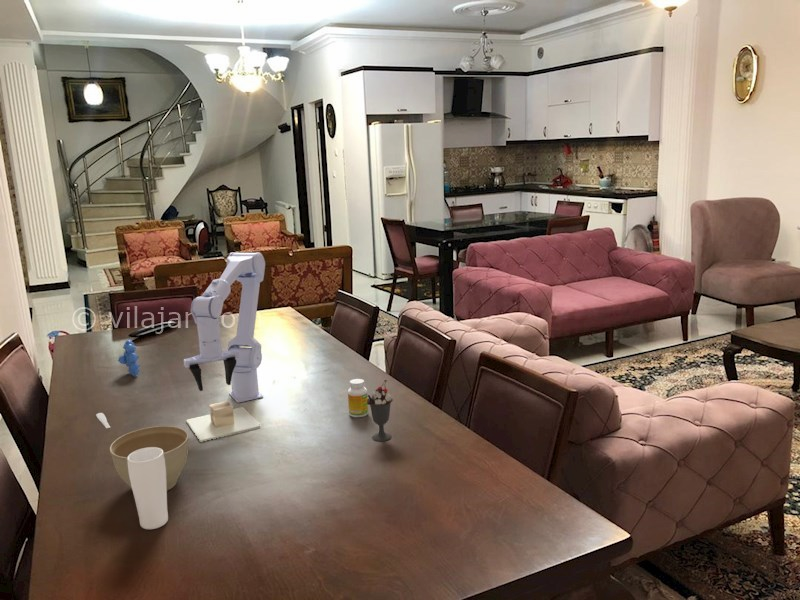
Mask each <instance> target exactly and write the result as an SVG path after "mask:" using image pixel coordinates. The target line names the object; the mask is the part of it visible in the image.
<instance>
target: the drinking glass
mask: <svg viewBox="0 0 800 600" xmlns="http://www.w3.org/2000/svg"><path fill="white" fill-rule="evenodd" d="M127 462H128V472H129V478H130V482H131V486H132V488H131V491H132V490H133V491H132V493H133V497H134V501H135V506H136V510H137V515H138V519H139V520H138V521H139V525H140V527H141V528H142V529H144V530H155V529H159V528H161V527H163V526H165V525H166V524H167V522H169V521H168V520H169V513H168V491H167V484H166V465H165V458H164V453H163V450H162V449H160V448H157V447H148V448H142V449H139V450H136V451H134V452H132V453H131V454H130V455H129V456H128V457H127Z"/></svg>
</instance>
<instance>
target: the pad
mask: <svg viewBox="0 0 800 600" xmlns="http://www.w3.org/2000/svg"><path fill="white" fill-rule="evenodd" d="M233 415H234V424H231V425H227V426H222V427H218V428H216V427H215V426H214V425H213V424H212V422H211V416H210V413H209V414H205V415H201V416H198V417H192V418H188V419H186V420H185V421H186V424H187V425H188V427H189V428H190V429H191V431H192V432H193V433H195V434H194V435H195V437H196V436H197V437H196V438H197V440H198V439H199V440H198V441H199V443H200V442H201V443H204V442H203V441H205V442H208V441H207V440H209V441H212V440H211V439H213V440H216V438H217V439H219V437H221V438H225V437H228V435H229V436H232V435H231V434H233V435H236V433H237V434H240V433H239V432H241V433H245V432H248V430H249V431H252V429H253V430H257V429H261V428H260V427H261V424H260V423H259V422H258V421H257V420H256V418H254V417H253V416H252V414H250V413H249V412H248V411H247V410H246V409H245V408H244V407H243V406H241V407H236V408H233ZM244 431H245V432H244ZM224 436H225V437H224Z"/></svg>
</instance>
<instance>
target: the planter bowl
mask: <svg viewBox="0 0 800 600" xmlns="http://www.w3.org/2000/svg"><path fill="white" fill-rule="evenodd" d="M188 442H189V434H188V432H187V431H186V430H185V429H183V428H180V427H178V426H171V425H170V426H169V425H160V426H149V427H148V426H147V427H144V428H140V429H137V430H134V431H130V432H128V433H125V434H123V435H121V436H120V437H118V438H116V439H115V440H114V441H113V442H112V443H111V445H110V446H109V453H110V455H111V457H112V461H113V465H114V468H115V471H116V472H117V474H118V476H119V477H120V478H121V480H123V482H124V483H125V484H127V486H129V487H130V489H131V491H132V492H133V490H132V486H131V482H130V478H129V472H128V462H127V457H128V456H129V455H130V454H131V453H132V452H134V451H136V450H139V449H142V448H148V447H157V448H160V449H162V450H163V453H164V458H165V465H166V484H167V492H168V491H170V490H171V489H173V488H174V487H175V486H176V485H177V483H178V478H179V476H180V475H181V473H182V471H183V469H184V467H185V465H186V461H187V458H188V451H189V448H188V447H189V445H188Z"/></svg>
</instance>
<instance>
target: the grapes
mask: <svg viewBox="0 0 800 600" xmlns="http://www.w3.org/2000/svg"><path fill="white" fill-rule="evenodd" d="M122 348H123V349H124V351H123V354H121V355H120V356H119V357H118V360H117V362H119V364H121V365H125V366H126V367H128V369H127V372H128V373H129V374H130V375H132V376H133V377H136V376H138V374H139V373H140V369H139V368H140V364H139V363H138V360H139V357H140V356H139V355H138V354H137V353H136V349H137V347H136V346H135V343H134V342H133V341H132V340H130V339H127V340H126V341H125V343H124V345H123V346H122Z"/></svg>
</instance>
